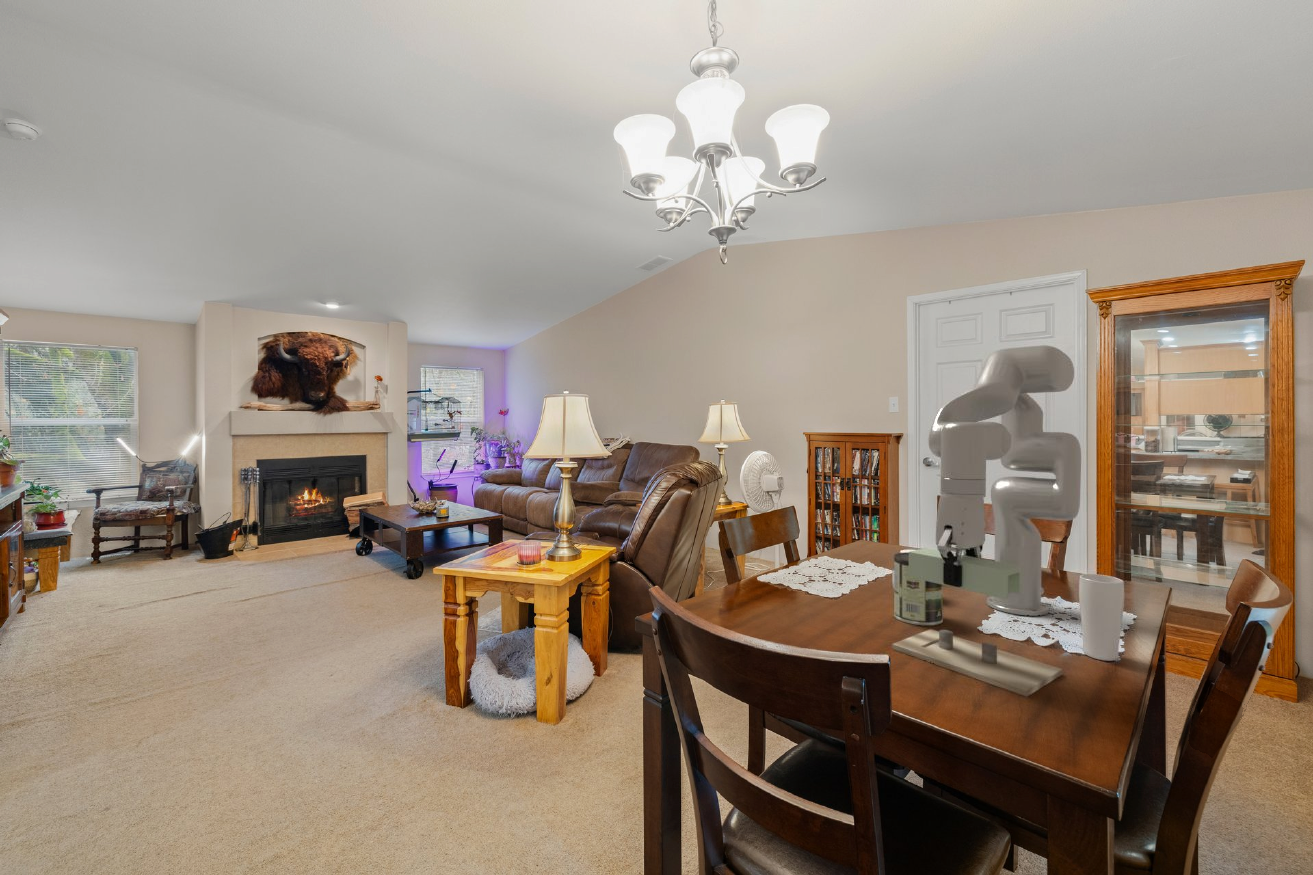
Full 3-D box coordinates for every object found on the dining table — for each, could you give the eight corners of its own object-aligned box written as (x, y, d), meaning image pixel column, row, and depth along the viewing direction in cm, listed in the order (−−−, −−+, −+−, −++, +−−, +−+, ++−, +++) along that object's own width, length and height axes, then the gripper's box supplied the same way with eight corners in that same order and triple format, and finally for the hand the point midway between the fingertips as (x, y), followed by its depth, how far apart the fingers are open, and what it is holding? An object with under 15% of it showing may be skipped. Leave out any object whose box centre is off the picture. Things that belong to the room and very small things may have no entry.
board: (930, 633, 120) (930, 614, 120) (1061, 674, 100) (1062, 652, 100) (892, 648, 112) (892, 628, 112) (1026, 696, 92) (1026, 672, 92)
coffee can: (935, 611, 133) (935, 552, 133) (948, 627, 123) (949, 563, 123) (889, 609, 136) (889, 551, 135) (898, 624, 125) (899, 561, 125)
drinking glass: (1113, 651, 110) (1114, 575, 109) (1130, 665, 103) (1131, 584, 103) (1072, 647, 112) (1073, 572, 112) (1086, 660, 106) (1087, 581, 105)
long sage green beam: (924, 572, 116) (925, 548, 116) (1021, 593, 101) (1021, 565, 101) (908, 576, 113) (908, 551, 113) (1005, 599, 98) (1006, 570, 98)
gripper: (965, 483, 115) (964, 571, 115) (918, 488, 105) (917, 585, 105) (1005, 486, 109) (1004, 580, 109) (959, 492, 99) (958, 595, 99)
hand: (961, 581), depth 107 cm, fingers closed on long sage green beam, 6 cm apart
